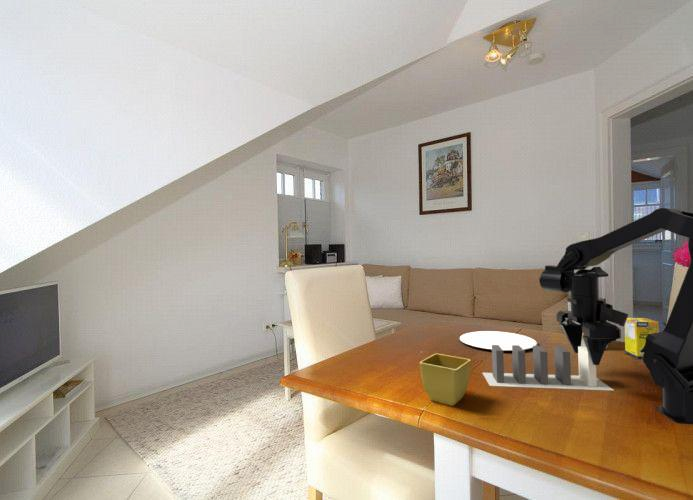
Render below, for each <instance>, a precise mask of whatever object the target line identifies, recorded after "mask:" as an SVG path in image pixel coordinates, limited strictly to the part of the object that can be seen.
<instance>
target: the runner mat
mask: <svg viewBox="0 0 693 500" xmlns="http://www.w3.org/2000/svg"><path fill="white" fill-rule="evenodd" d="M482 375H483V377H484V379H485V380H486V382H487V383H488V386H490V387H508V388H509V387H510V388H511V387H513V388H537V389H560V390H562V389H563V390H564V389H565V390H587V391H588V390H590V391H615V389H614V388H612V387H610V386H609V385H608V384H606V383H605V382H603V381H602V380H600V379H599V378H597V377H596V385H597V386H588V385H587V384H586V383H584V382H583V381H582V380H580V379H579V375H572V374H571V386H570V385H563V384H562V383H561V382H560V381H558V380H557V379H556V378H555V374H548V385H543V384H540V383H539V382H538V381H537V380H536V379H535V377H534V373H526V384H519V383H518V382H517V381H516V379H515V378H514V377H513V372H512V373H511V372H510V373H507V372H504V383H497V382H496V380H495V378H494V377H493V372H482Z"/></svg>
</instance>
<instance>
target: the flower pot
mask: <svg viewBox="0 0 693 500" xmlns="http://www.w3.org/2000/svg"><path fill="white" fill-rule="evenodd" d="M471 365H472V360H471V359H470V358H465V357H460V356H453V355H447V354H443V353H437V352H436V353H434V354H432V355H429V356H427V357H426V358H424V359H423V360H421V361H420V362H419V369H420V376H421V380H422V381H421V382H422V386H423V388H424V391H425V393H426V394H427V397H429V399H430V400H431V401H432V402H435V403H438V404H439V403H440V404H443V405H447V406H450V407H454V406H455V405H456V404H457V403H458V402H459V401H461V400H462V399H463V397H464V396H465V394H466V392H467V389H468V386H469V383H470V377H471V376H470V375H471V374H470V373H471Z"/></svg>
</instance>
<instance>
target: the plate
mask: <svg viewBox="0 0 693 500" xmlns="http://www.w3.org/2000/svg"><path fill="white" fill-rule="evenodd" d="M459 341H460V342H461V343H463V344H464V345H467V346H470V347H472V348H476V349H477V348H478V349H482V350H487V351H488V350H489V351H492V345H499V347H500V348H501V349H502V350H503V352H512V345H519V346H520V347H521V348H522V349H523V350H524V351H527V350H531V349H532V350H533V346H538V342H537V341H536V340H535V339H533V338H532V337H529V336H527V335H523V334H519V333H513V332H509V331H508V332H507V331H497V330H495V331H493V330H480V331H472V332H466V333H463V334H462V335H460V337H459Z"/></svg>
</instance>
